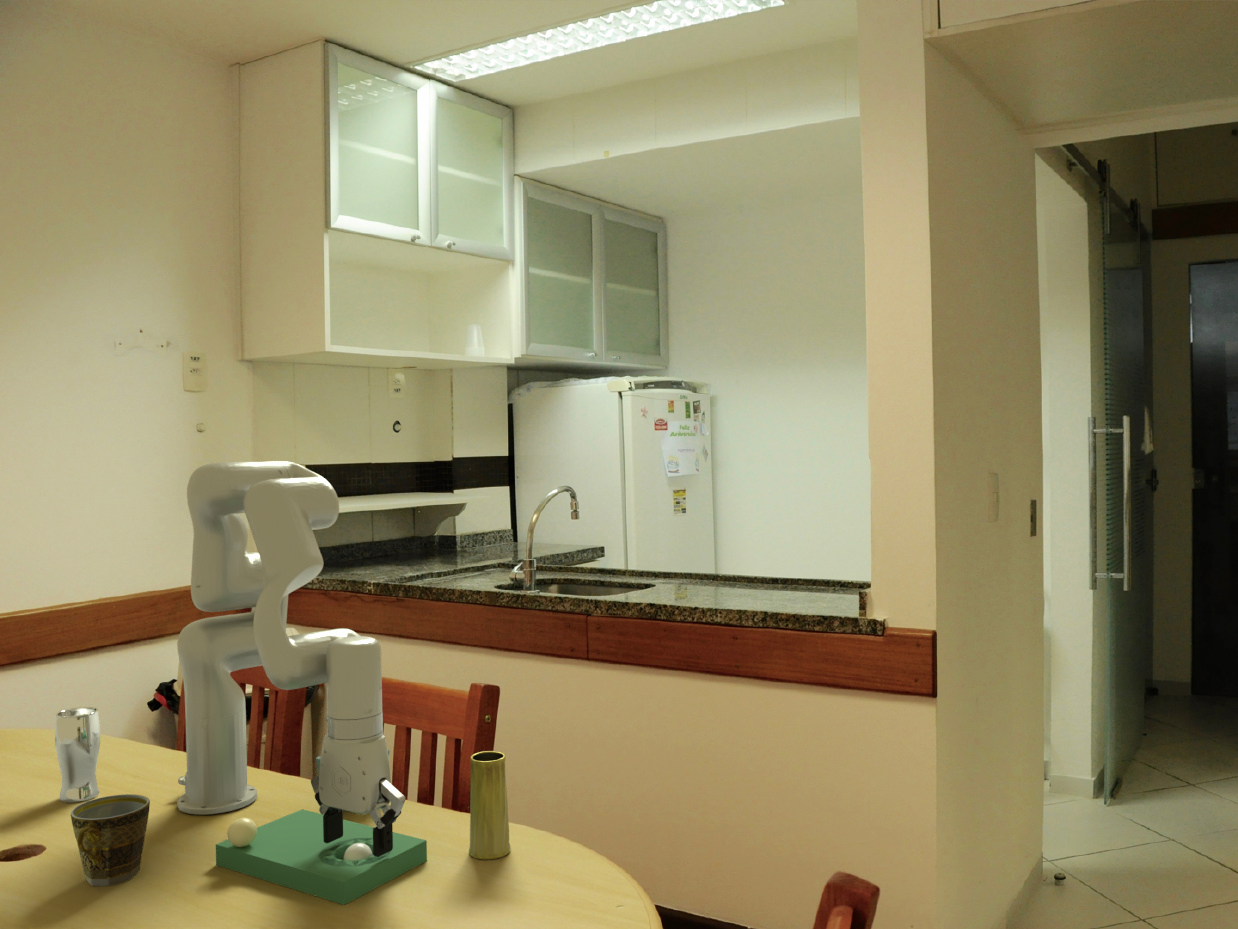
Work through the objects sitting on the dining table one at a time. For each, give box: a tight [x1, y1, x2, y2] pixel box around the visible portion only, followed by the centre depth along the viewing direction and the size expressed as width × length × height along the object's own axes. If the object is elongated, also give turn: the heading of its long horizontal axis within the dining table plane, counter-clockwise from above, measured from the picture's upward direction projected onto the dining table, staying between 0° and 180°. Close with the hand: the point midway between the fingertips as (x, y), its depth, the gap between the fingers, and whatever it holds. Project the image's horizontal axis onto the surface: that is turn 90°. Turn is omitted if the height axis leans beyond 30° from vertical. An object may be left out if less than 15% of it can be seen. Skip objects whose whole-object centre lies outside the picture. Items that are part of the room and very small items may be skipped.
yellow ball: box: [226, 817, 258, 847], centre depth 145 cm, size 4×4×4 cm
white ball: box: [343, 843, 373, 861], centre depth 142 cm, size 4×4×4 cm
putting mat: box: [215, 809, 428, 906], centre depth 146 cm, size 26×16×3 cm, turn 59°
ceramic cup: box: [70, 793, 151, 887], centre depth 141 cm, size 13×10×10 cm
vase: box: [468, 750, 511, 861], centre depth 149 cm, size 6×6×14 cm
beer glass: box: [54, 706, 101, 804], centre depth 175 cm, size 7×7×15 cm
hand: (357, 846), depth 142 cm, fingers open, 9 cm apart
